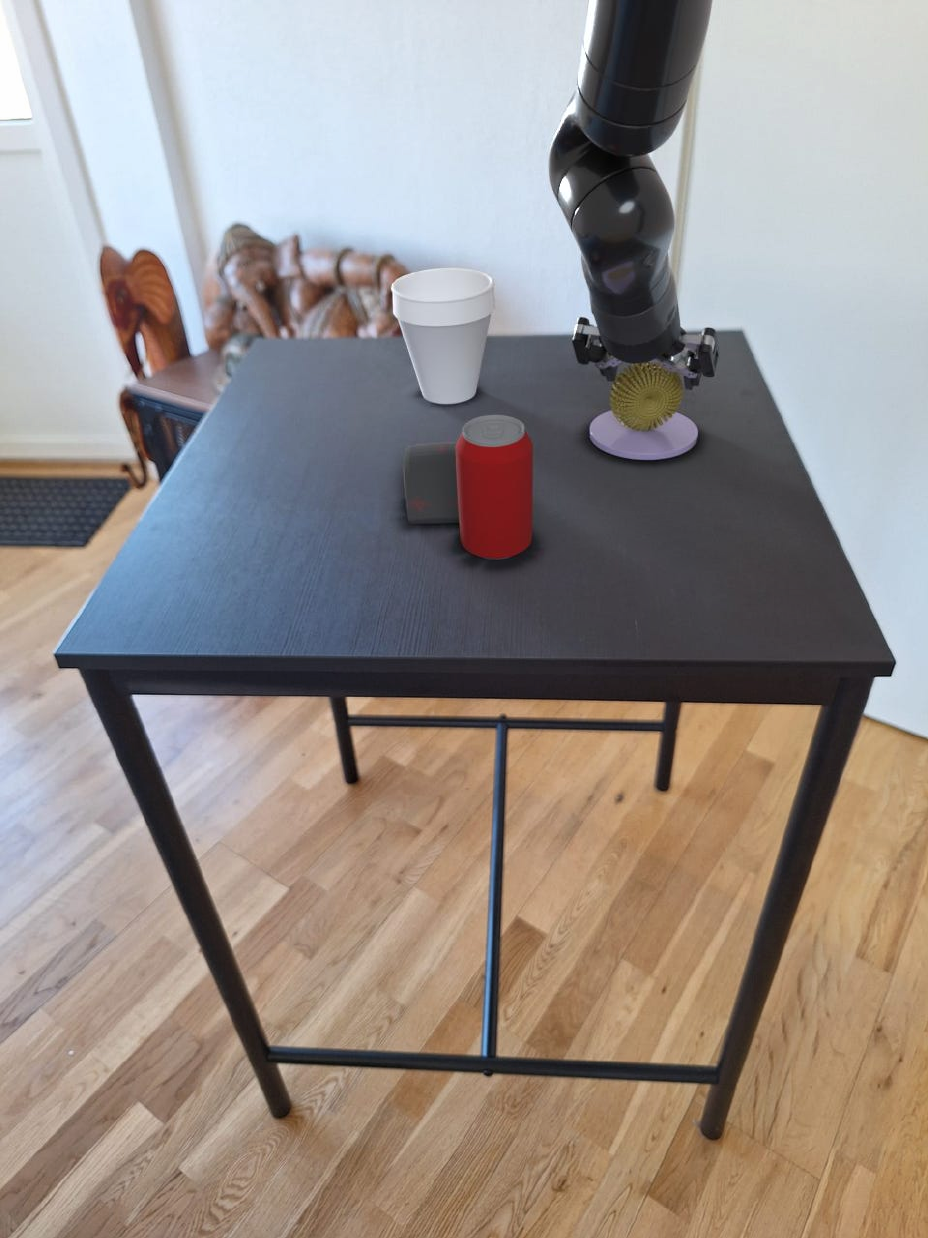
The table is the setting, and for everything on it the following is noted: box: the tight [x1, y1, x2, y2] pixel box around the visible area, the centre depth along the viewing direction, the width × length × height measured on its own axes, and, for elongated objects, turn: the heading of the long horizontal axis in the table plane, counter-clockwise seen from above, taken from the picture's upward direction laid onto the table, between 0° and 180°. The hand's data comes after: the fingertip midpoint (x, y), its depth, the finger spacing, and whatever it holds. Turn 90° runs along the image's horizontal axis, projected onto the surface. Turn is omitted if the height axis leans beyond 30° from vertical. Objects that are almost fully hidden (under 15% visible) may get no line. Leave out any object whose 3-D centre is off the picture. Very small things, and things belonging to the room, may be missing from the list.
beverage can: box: [455, 414, 534, 561], centre depth 76 cm, size 7×7×12 cm
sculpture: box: [609, 362, 684, 431], centre depth 92 cm, size 8×4×8 cm, turn 97°
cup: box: [390, 267, 496, 405], centre depth 103 cm, size 12×12×14 cm
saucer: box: [589, 409, 699, 461], centre depth 95 cm, size 12×12×1 cm
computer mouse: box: [402, 441, 460, 525], centre depth 87 cm, size 8×14×4 cm, turn 179°
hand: (651, 377), depth 92 cm, fingers open, 8 cm apart
